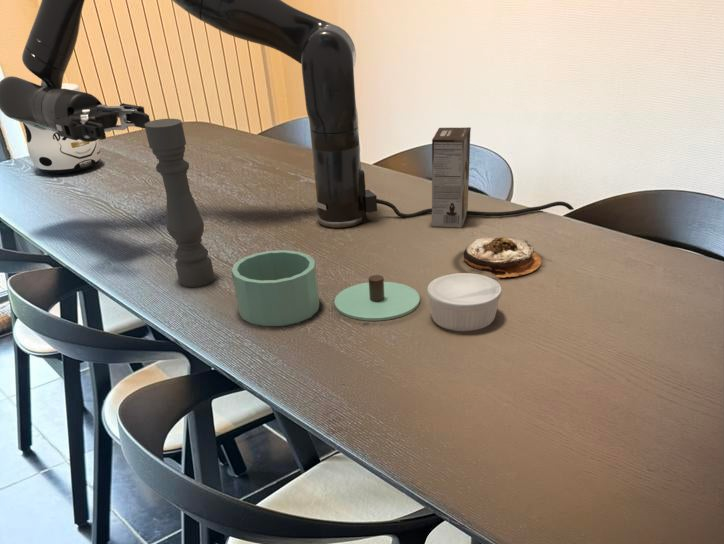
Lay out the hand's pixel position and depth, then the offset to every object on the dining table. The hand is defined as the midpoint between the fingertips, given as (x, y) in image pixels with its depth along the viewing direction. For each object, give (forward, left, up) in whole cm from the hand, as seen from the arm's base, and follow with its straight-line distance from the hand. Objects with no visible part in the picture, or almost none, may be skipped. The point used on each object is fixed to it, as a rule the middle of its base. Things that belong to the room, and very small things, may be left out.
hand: (125, 126), depth 116 cm
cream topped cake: (-56, +27, -23) cm, 66 cm away
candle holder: (-5, +10, -23) cm, 26 cm away
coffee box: (-58, +3, -23) cm, 63 cm away
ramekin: (-40, +45, -23) cm, 65 cm away
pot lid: (-30, +34, -23) cm, 51 cm away
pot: (-15, +29, -23) cm, 40 cm away
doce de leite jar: (+12, -79, -23) cm, 83 cm away
